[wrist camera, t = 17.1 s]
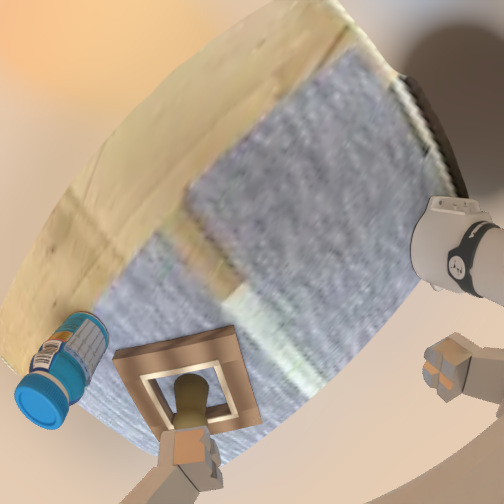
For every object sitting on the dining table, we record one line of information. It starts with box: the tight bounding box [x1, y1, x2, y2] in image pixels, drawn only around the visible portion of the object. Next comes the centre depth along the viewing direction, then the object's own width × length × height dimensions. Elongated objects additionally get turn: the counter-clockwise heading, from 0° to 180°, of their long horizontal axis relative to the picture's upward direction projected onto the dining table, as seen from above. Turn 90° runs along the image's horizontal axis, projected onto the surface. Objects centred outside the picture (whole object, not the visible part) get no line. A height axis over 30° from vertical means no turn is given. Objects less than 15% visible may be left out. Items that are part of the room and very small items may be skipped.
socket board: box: [112, 325, 262, 442], centre depth 44 cm, size 20×20×3 cm
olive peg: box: [173, 374, 209, 430], centre depth 40 cm, size 6×6×11 cm
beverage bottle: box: [14, 312, 108, 430], centre depth 31 cm, size 8×8×20 cm
